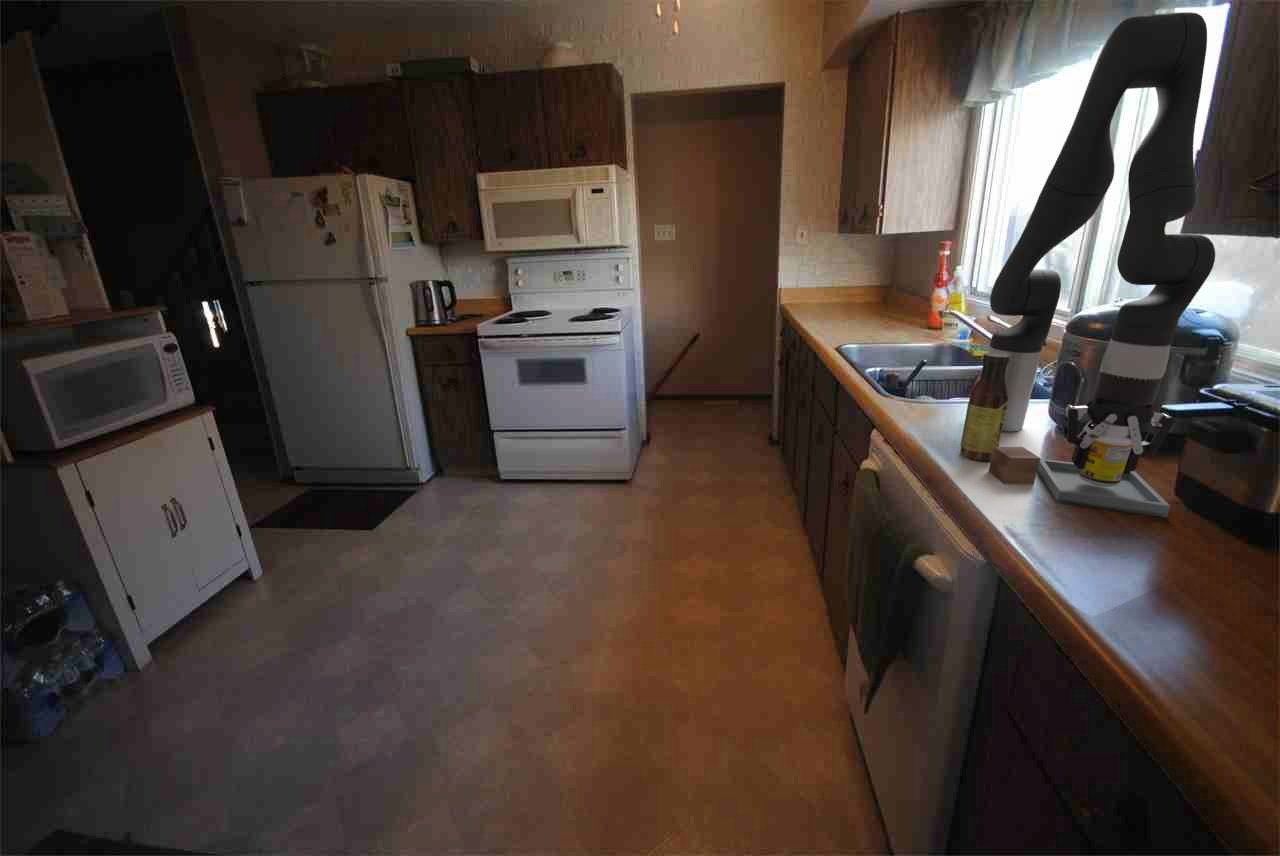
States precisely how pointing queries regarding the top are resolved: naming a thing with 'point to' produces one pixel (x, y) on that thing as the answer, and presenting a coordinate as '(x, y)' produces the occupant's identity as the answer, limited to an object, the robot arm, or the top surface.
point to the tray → (1101, 490)
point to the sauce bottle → (986, 409)
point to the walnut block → (1014, 465)
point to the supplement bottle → (1107, 457)
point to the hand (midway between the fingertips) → (1100, 469)
